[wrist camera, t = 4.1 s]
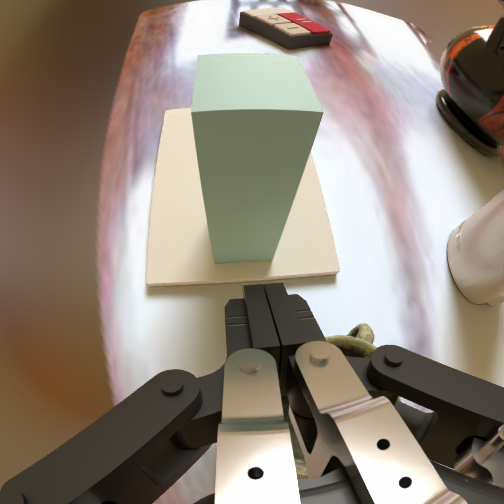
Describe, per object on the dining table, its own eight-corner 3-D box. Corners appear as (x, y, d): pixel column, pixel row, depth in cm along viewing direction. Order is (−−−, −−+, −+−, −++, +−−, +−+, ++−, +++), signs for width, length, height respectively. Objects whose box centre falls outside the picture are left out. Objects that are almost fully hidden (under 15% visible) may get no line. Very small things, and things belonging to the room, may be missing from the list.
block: (272, 260, 21) (323, 112, 8) (214, 264, 21) (191, 111, 8) (266, 210, 23) (297, 55, 10) (212, 213, 22) (197, 55, 10)
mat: (336, 274, 22) (340, 271, 21) (149, 286, 21) (146, 283, 20) (295, 111, 30) (296, 106, 29) (166, 115, 28) (165, 110, 27)
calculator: (291, 34, 34) (239, 9, 37) (287, 54, 38) (237, 26, 41) (334, 31, 37) (282, 4, 40) (329, 47, 41) (279, 20, 44)
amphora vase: (459, 93, 40) (505, 7, 15) (517, 168, 33) (585, 85, 7) (400, 82, 37) (450, -39, 11) (477, 177, 29) (574, 50, 3)
